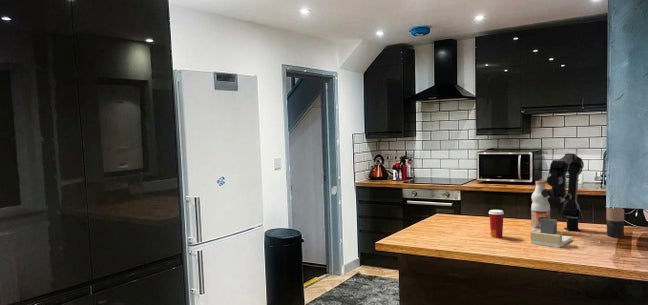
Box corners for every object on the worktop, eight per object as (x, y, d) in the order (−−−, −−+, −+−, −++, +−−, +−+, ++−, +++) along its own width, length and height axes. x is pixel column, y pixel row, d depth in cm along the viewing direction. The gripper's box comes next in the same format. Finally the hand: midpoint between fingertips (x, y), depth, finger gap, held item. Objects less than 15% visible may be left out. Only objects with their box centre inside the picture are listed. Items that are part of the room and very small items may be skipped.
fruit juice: (539, 228, 248) (539, 179, 247) (554, 232, 239) (553, 181, 238) (527, 230, 244) (527, 181, 243) (542, 234, 236) (541, 182, 235)
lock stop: (544, 237, 221) (544, 218, 221) (557, 239, 217) (556, 219, 216) (540, 239, 218) (540, 219, 217) (553, 241, 213) (553, 221, 213)
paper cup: (504, 235, 236) (504, 209, 235) (504, 238, 229) (503, 212, 228) (489, 234, 239) (488, 209, 238) (488, 237, 232) (487, 211, 231)
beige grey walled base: (545, 236, 231) (544, 225, 231) (572, 239, 222) (571, 229, 222) (530, 243, 218) (530, 232, 218) (559, 247, 209) (559, 236, 208)
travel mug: (627, 238, 221) (627, 199, 220) (610, 238, 223) (610, 199, 222) (620, 234, 229) (620, 196, 228) (604, 234, 230) (603, 197, 229)
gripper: (549, 181, 240) (549, 209, 241) (536, 185, 227) (537, 215, 228) (571, 183, 232) (572, 212, 233) (560, 186, 219) (560, 217, 220)
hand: (559, 214), depth 228 cm, fingers closed
